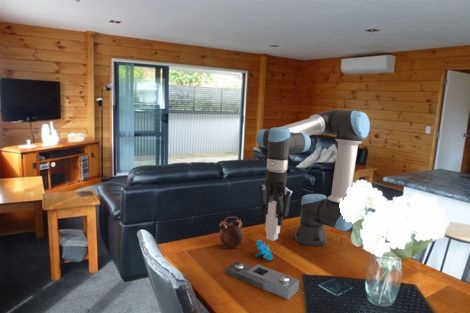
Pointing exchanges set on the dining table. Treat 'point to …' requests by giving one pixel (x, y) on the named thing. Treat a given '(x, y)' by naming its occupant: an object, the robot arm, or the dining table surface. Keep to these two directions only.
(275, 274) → the grey studded bar
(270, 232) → the steel pin
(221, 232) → the alarm clock
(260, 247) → the blue bumpy figurine
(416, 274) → the dining table surface
